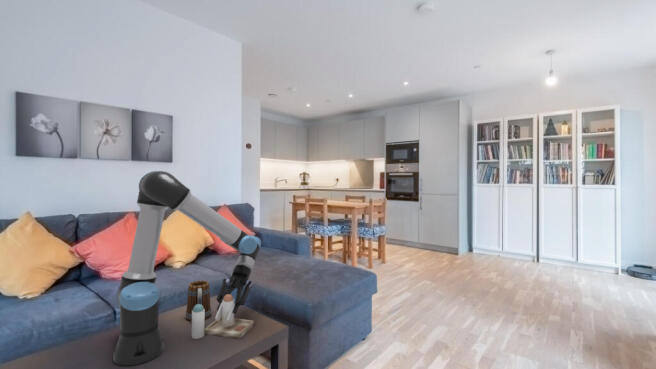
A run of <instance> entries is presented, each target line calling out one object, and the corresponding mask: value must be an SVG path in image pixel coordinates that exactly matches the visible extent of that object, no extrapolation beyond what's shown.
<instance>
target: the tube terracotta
mask: <svg viewBox="0 0 656 369" xmlns="http://www.w3.org/2000/svg"><path fill="white" fill-rule="evenodd" d="M233 304H235V298H234V296H233V295H232V293H231V294H227V295H225V296H224V299H223V300H222V316H221V317H222V326H223V327H230V326H232V325H234V318H235V315H234V316H233V319H232V322H231V323H229V322H228V321H227V318H228V316H229V313H230V310H231V308H232V305H233Z"/></svg>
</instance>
